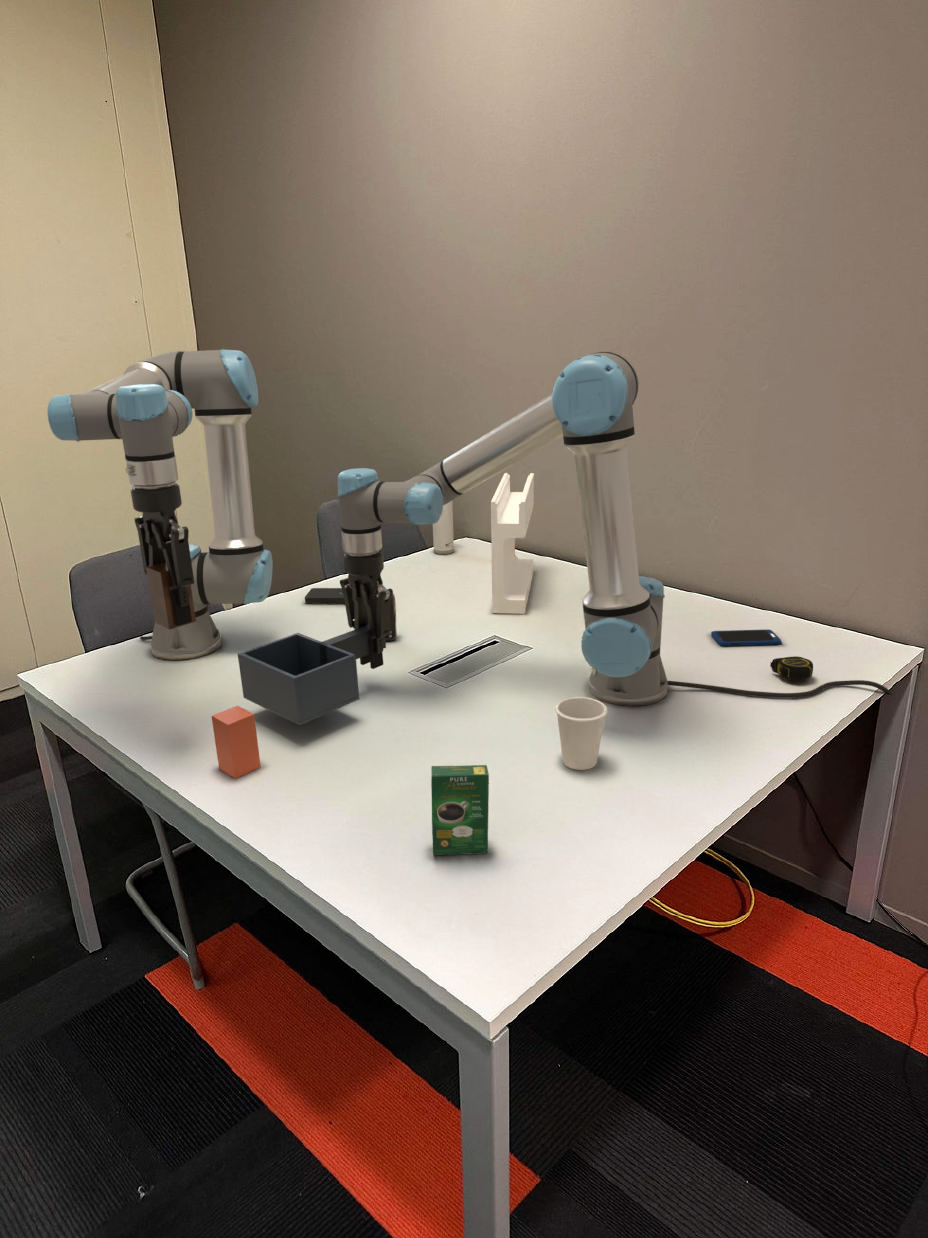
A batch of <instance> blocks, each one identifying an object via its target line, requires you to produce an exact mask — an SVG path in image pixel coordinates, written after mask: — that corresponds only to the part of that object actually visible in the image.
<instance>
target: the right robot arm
mask: <svg viewBox="0 0 928 1238" xmlns="http://www.w3.org/2000/svg"><path fill="white" fill-rule="evenodd" d="M639 385H640V383H639V376H638V373H637V371H636V369H635V367H634V366H633V364H632V363H631V362H630V360H628V359H627V358H626V357H625V356H623V355H622V354H619V353H616V352H612V351H598V352H594V353H592V354H588V355H585V356H579V357H578V358H576V359H574V360H573V361H572V362H571V361H570V363H568V364H567V365H566V366H565V367H564V369H563V370H562V371H561V372H560V374H559V375H558V376H557V378H556V380H555V382H554V385H553V388H552V393H550V394H549V395H547V396H545V397H543V398H541V400H539V401H537V402H536V403H534V404H532V405H531V406H529V407H527V408H526V409H524V410H523V411H521V412H520V413H518V414H516V415H514V416H512V417H511V418H510V419H508V420H506V421H504V422H503V423H501V424H500V425H498V426H497V427H495V428H493V429H491V430H490V431H488V432H487V433H485V434H484V435H482V436H480V437H479V438H477V439H475V440H474V441H472V442H471V443H469V444H467V445H466V446H464V447H462V448H460V449H459V450H457V451H456V452H455V453H453V454H451V455H450V456H448V457H446V458H445V459H443V460H442V461H439V462H438V463H436V464H435V465H433V466H431V467H430V468H427V469H426V470H424V471H422V472H421V473H419V474H417V475H415V476H413V477H411V478H410V479H408V480H405V481H383V480H380V479H379V475H378V472H377V471H376V470H375V469H373V468H369V467H368V468H367V467H359V468H350V469H345V470H343V471H341V472H340V473H339V474H338V475H337V498H338V507H339V517H340V528H341V531H340V532H341V534H340V535H341V546H342V551H343V552H344V553H343V567H344V572H345V573H346V574H348V575H347V577H346V578H343V579H340V580H339V585H340V588H342V590H343V594H344V600H345V604H344V606H345V612H346V619H347V625H348V627H349V628H351V629H352V628H353V630H356V629H358V628H361V627H364V626H366V625H368V620H369V626H370V633H371V636H368V641H369V653H370V654H369V655H366V656H364V657H361V658H359V661H360V662H359V663H360V665H362V666H364V665H368V664H370V669H372V670H374V669H377V668H380V667H381V666H384V656H383V655H384V654H383V652H384V649H383V636H385V635H388V634H390V615H391V598H392V595H393V593H394V590H393V589H392V588H386V586H384V581H383V579H382V576H381V574H382V572H383V570H384V568H385V563H384V552H383V551H382V549H383V538H382V523H390V524H403V525H414V526H422V525H424V526H425V525H433V524H435V523H437V522H438V521H439V519H440V516H441V515H442V511H443V505H445V504H447V503H449V502H450V501H453V500H456V499H457V498H459V497H460V496H462V495H464V494H466V492H468V491H470V490H472V489H473V488H475V487H478V486H479V485H481V484H482V483H484V482H485V481H488V480H489V479H492V478H493V477H494V476H496V475H498V474H500V473H502V472H503V471H505V470H507V469H508V468H510V467H512V466H514V465H516V464H517V463H519V462H520V461H523V460H524V459H526V458H527V457H530V456H531V455H533V454H535V453H537V452H538V451H540V450H541V449H543V448H545V447H547V446H548V445H550V444H552V443H554V442H555V441H557V440H558V439H560V438H562V439H563V447H565V448H567V450H569V451H570V452H571V453H572V454H573V455H574V463H575V471H576V479H577V489H578V497H579V505H580V507H579V508H580V515H581V524H582V532H583V543H584V549H585V550H584V551H585V559H586V569H587V577H588V588H589V590H588V592H587V593H586V594H585V595H584V596H583V597H582V609H583V610H582V611H583V619H584V620H583V621H584V631H583V632H582V636H581V645H580V646H581V652H582V655H583V658H584V659H585V661H586V663H587V665H589V666H590V668H591V673H590V676H589V678H588V690H589V692H590V693H591V695H593V696H594V697H596V698H597V699H598V700H601V701H603V702H607V703H609V704H613V705H618V706H627V707H628V706H629V707H636V706H637V707H639V706H640V707H641V706H646V705H652V704H655V703H657V702H660V701H662V700H663V699H664V698H666V696H667V694H668V688H669V687H668V686H672V687H682V688H689V689H690V688H692V689H700V690H707V691H714V692H715V691H716V692H724V693H729V694H735V695H736V694H737V695H743V696H751V697H764V698H779V699H782V698H784V699H789V698H791V699H793V698H794V699H795V698H805V697H810V696H813V695H815V694H818V693H820V692H821V691H823V690H825V689H827V688H830V687H838V686H869V687H873V688H876V689H878V690H880V691H881V692H883V693H884V694H885V695H889V696H891V695H893V693H892V691H891V690H889V688H887V687H886V686H884V685H882V684H880V683H878V682H876V681H871V680H866V679H865V680H863V679H853V680H835V681H829V682H826V683H823V684H821V685H819V686H817V687H816V688H814V689H811V690H807V691H801V692H771V691H756V690H755V691H754V690H748V689H747V690H745V689H738V688H731V687H726V686H720V685H719V686H717V685H711V684H703V683H694V682H685V681H675V680H668V678H667V675H666V670H665V668H664V664H663V661H662V657H661V646H662V628H663V611H664V610H663V609H664V599H665V587H664V584H663V582H661V581H660V580H659V579H656V578H653V577H649V576H642V575H639V563H638V553H637V542H636V533H635V532H636V531H635V521H634V511H633V499H632V491H631V481H630V470H629V459H628V457H629V456H628V446H629V445H630V443H631V442H632V440H633V439H634V438H635V437H636V433H635V420H634V409H633V408H634V407H633V406H634V404H635V401H636V400H637V398H638V393H639Z"/></svg>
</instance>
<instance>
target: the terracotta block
mask: <svg viewBox="0 0 928 1238" xmlns="http://www.w3.org/2000/svg"><path fill="white" fill-rule="evenodd" d="M211 723H212V729H213V737H214V745H215V750H216V757H217V765H218V769H219V770H220V771H222V772H224V773H225V774H227V775H228V776H230V777H231V778H233V779H235V780H236V779H238V778H240V777H242V776H244V775H247V774H249V773H251V772H252V771H255V770H258V769H260V768H261V766H262V765H261V757H260V750H259V741H258V734H257V726H256V718H255V713H253V712H251V711H249V710H247V709H245V708H243V707H242V706H240V705H235V706H232V707H229V708H227V709H225V710H222V711H219V712H218V713H214V714H212V715H211Z"/></svg>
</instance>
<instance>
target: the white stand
mask: <svg viewBox="0 0 928 1238" xmlns="http://www.w3.org/2000/svg"><path fill="white" fill-rule="evenodd" d="M510 478H511V475H510V474H509V472H504V473H503V476H502V477H501V480H500V482H499V483H498V486H497V488H496V490H495V492H494V494H493V495H492V496H493V497H492V499H491V501H490V537H491V539H490V540H491V544H490V545H491V605H492V608H491V609H492V611H491V613H492V614H516V615H517V614H518V615H526V610H527V605H528V601H529V595H530V591H531V585H532V581H533V577H534V576H533V575H534V572H535V571H534V563H535V562H534V561H535V560H534V559H533V558H532V559H531V558H518V557H517V555H516V539H526V536H527V532H528V529H529V525H530V521H531V517H532V513H533V509H534V506H535V500H534V499H535V490H534V489H535V473H533V472H530V473H529V474H528V475H527V478H526V481H525V484H524V487H523V490H522V491H511V480H510Z"/></svg>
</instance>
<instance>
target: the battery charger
mask: <svg viewBox="0 0 928 1238" xmlns="http://www.w3.org/2000/svg"><path fill="white" fill-rule="evenodd" d="M396 601H397V600H396V596H395V593H394V592H393V595H392V598H391V615H390V634H388V635H385V640H386V641H393V640H396V638H398V632H397V602H396ZM368 625H369V620H368Z"/></svg>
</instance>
